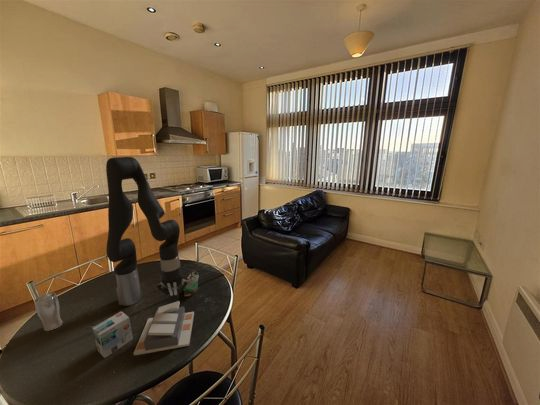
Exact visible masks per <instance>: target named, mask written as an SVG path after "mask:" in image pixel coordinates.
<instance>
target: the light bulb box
mask: <svg viewBox="0 0 540 405" xmlns="http://www.w3.org/2000/svg"><path fill="white" fill-rule="evenodd" d="M131 326H132V325H131V321H130V316H128V315H127V314H126V313H124V312H123V311H119V312H118V313H115V314H114V315H113V316H111V317H109V318H106V319H105V320H104V321H102V322H100V323H98V324H96V325H95V326H93V327H92V333H93V336H94V337H93V338H94V341H95V346H96V347H95V348H96V351H98V353H99V355H101V356H102V358H104V359H105V358H108V357H109V356H110V355H111V354H113V353H115V352H116V351H118V350H119V349H121V348H122V347H123V346H125V345H127V344H128V343H130V342H131V341H133V333H132V327H131Z"/></svg>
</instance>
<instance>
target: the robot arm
mask: <svg viewBox="0 0 540 405" xmlns="http://www.w3.org/2000/svg"><path fill="white" fill-rule="evenodd" d="M105 167H106V168H105V171H106V172H105V173H106V181H107V190H108V191H107V192H108V209H107V210H108V211H107V214H108V215H107V216H108V218H107V219H108V229H107V230H108V233H107V242H106V247H105V248H106V257H107V259H108V261H110V262H112V263H117V262H119V263H118V264H117V265H116V266H115V267H114V275H115V279H116V280H115V281H116V284H117V286H116V288H115V290H116V296H117V300H118V305H120V306H126V307H127V306H132V305H134V304H136V303H138V302H140V300H141V299H142V291H141V290H142V289H141V285H140V283H141V282H140V278H139V272H138V266H137V264H138V258H137V249H136V245H135V242H134V241H133V240H132V239H131V238H127V237H126V238H123V235H124V234H125V232H126V231H127V230H128V228H129V226H130V225H131V224H132V221H133V219H134V205H133V203H132V201H131V200H130V199H129V197H127V195H126V194H125V193H124V190H123V181H125V180H130V179H132V180H133V181H134V182H135V184H136V186H137V204H138V207H139V208H140V210H141V211H142V214H143V215H144V217H145V218H146V220H147V222H148V223H147V224H148V226H149V229H150V234H151V236H152V238H153V239H154V240H155V241H158V242H162V243H161V244H160V246H158V247H159V248H158V252H159V258H160V260H159V262H160V270H161V271H160V272H161V276H162V277H161V278H162V279H161V282H159V283H158V284H157V286H156V288H157V289H158V290H159V291H161V292H162V293H163V294H165V295H166V296H168V295H170V301H171V302H172V303H174V302H177V301H179V294H181V293H182V292H184V288H185V287H186V285H187V283H188V279H186V278H185V279H186V280H185V279H184V276H183V275H182V269H181V260H180V257H179V249H178V248H179V247H178V245H179V239H180V231H181V230H180V226H179V223H178V221H176V220H174V219H168V220H165V221H162V222H161V221H160V219H161V218H163V217H164V216H165V210H164V209H163V207H162V205H161V203H160V202H159V201H158V200H157V197H156V196H155V194H154V192H153V190H152V188H151V187H150V183H149V180H148V179H147V176H146V174H145V172H144V170H143V168H142V166H141V163H139V161H138V160H137V159H136V158H135V157H134V156H133V157H132V156H120V157H119V156H118V157H110V158H108V159H107V161H106V164H105ZM163 241H164V242H163ZM180 284H181V285H180ZM179 286H180V287H179Z"/></svg>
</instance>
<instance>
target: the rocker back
mask: <svg viewBox="0 0 540 405" xmlns="http://www.w3.org/2000/svg"><path fill="white" fill-rule="evenodd" d="M180 302H181V301H180V300H177V302H171V303H168V304H164V305H161V306H158V308H157V310H158V311H157V313H169V312H172V311H175V310H178V308H179V307H180Z"/></svg>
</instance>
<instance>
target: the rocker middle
mask: <svg viewBox="0 0 540 405" xmlns="http://www.w3.org/2000/svg"><path fill="white" fill-rule="evenodd" d="M155 313H156V312H155ZM155 313H154V315H155V317H154V316H153V318H154V319H153V323H168V324H176V322H177V318H178V314H173V313H156V314H155Z"/></svg>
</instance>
